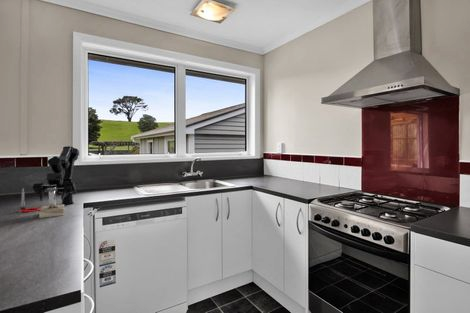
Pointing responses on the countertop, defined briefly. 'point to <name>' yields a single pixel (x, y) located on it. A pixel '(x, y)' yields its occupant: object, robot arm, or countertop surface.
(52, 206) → the steel pin
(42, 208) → the socket block
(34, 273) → the countertop surface
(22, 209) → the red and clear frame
